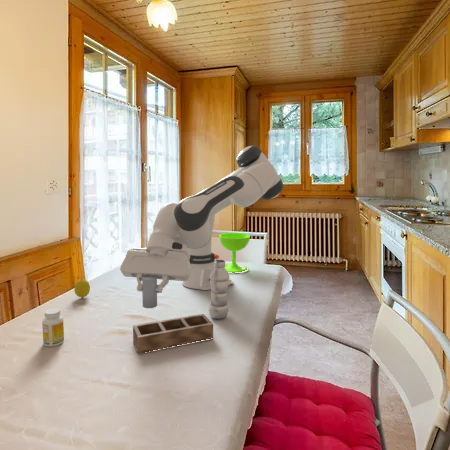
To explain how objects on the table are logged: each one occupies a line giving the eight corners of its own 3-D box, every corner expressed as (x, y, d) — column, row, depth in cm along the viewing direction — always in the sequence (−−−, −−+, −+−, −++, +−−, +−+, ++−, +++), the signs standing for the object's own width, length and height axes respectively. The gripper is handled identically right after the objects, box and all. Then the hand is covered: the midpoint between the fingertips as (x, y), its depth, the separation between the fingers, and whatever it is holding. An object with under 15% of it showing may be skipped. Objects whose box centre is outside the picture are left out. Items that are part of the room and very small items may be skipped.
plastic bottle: (208, 313, 120) (209, 258, 117) (227, 313, 121) (228, 258, 118) (209, 321, 114) (210, 263, 111) (229, 321, 114) (230, 263, 111)
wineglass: (218, 265, 184) (219, 232, 181) (248, 265, 184) (249, 233, 181) (217, 273, 168) (218, 238, 166) (249, 274, 168) (250, 238, 165)
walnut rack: (203, 328, 109) (203, 313, 108) (212, 339, 101) (213, 324, 101) (133, 341, 99) (132, 325, 99) (138, 354, 92) (138, 337, 92)
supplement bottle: (40, 347, 95) (38, 315, 93) (47, 338, 100) (45, 307, 98) (61, 346, 96) (59, 314, 94) (66, 337, 101) (64, 306, 99)
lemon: (84, 301, 129) (83, 281, 128) (71, 300, 130) (70, 280, 129) (93, 296, 134) (92, 276, 133) (80, 295, 135) (79, 275, 134)
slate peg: (153, 301, 98) (152, 275, 97) (159, 306, 95) (159, 278, 94) (140, 304, 96) (139, 277, 95) (146, 309, 93) (146, 281, 92)
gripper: (125, 241, 102) (110, 283, 94) (191, 245, 98) (181, 289, 90) (132, 253, 107) (118, 293, 99) (195, 256, 103) (186, 299, 95)
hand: (149, 291), depth 94 cm, fingers closed on slate peg, 4 cm apart
